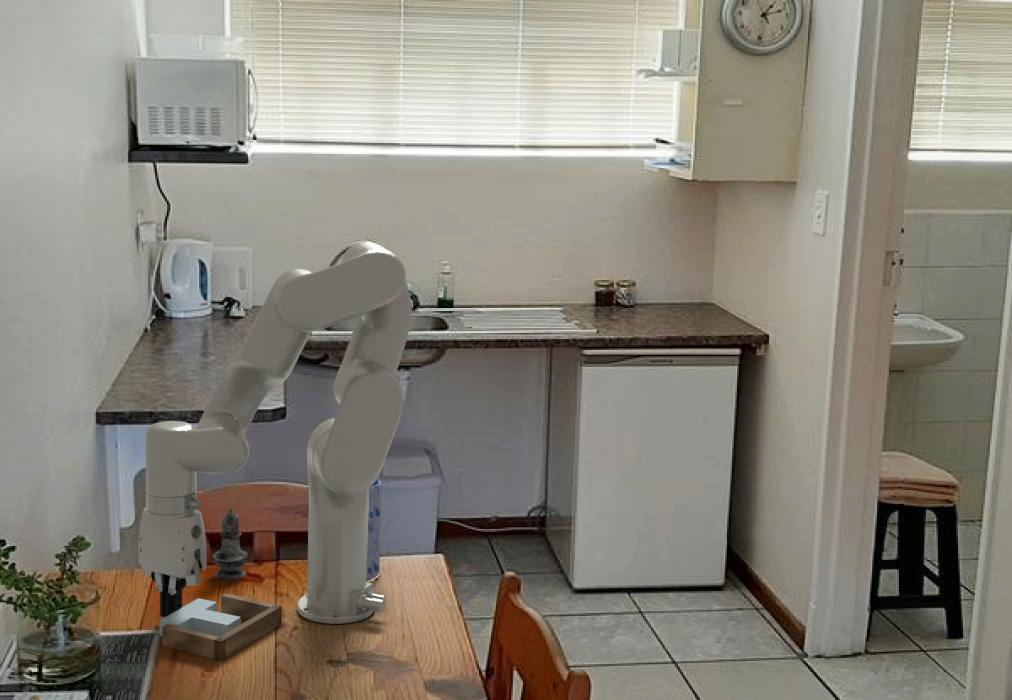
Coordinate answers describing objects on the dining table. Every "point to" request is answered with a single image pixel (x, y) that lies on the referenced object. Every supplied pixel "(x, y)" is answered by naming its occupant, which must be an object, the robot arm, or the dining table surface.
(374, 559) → the aerosol can
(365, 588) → the robot arm
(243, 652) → the dining table surface
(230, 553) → the grey stone statue
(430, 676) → the dining table surface
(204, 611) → the t block
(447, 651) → the dining table surface
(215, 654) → the corral
